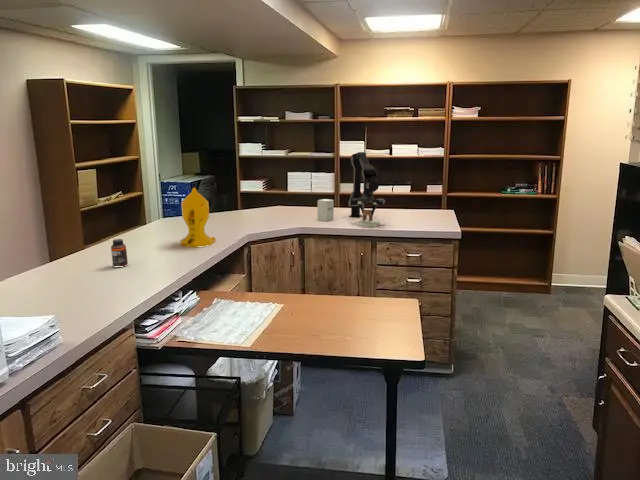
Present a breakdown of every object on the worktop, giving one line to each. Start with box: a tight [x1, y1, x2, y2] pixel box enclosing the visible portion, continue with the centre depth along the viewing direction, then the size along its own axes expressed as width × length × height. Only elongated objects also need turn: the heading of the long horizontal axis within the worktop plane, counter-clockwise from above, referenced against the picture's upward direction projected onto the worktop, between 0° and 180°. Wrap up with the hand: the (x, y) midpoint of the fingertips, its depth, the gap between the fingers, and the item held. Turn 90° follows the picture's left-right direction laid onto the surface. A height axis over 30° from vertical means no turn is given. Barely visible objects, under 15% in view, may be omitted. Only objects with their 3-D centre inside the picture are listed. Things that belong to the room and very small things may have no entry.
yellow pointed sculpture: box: [179, 187, 217, 247], centre depth 256 cm, size 18×24×28 cm
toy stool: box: [362, 209, 374, 222], centre depth 306 cm, size 5×5×6 cm
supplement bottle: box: [110, 238, 129, 267], centre depth 218 cm, size 6×6×11 cm
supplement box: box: [316, 198, 334, 222], centre depth 319 cm, size 7×7×13 cm
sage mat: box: [354, 219, 381, 228], centre depth 307 cm, size 12×12×1 cm
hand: (367, 215), depth 306 cm, fingers closed on toy stool, 5 cm apart
